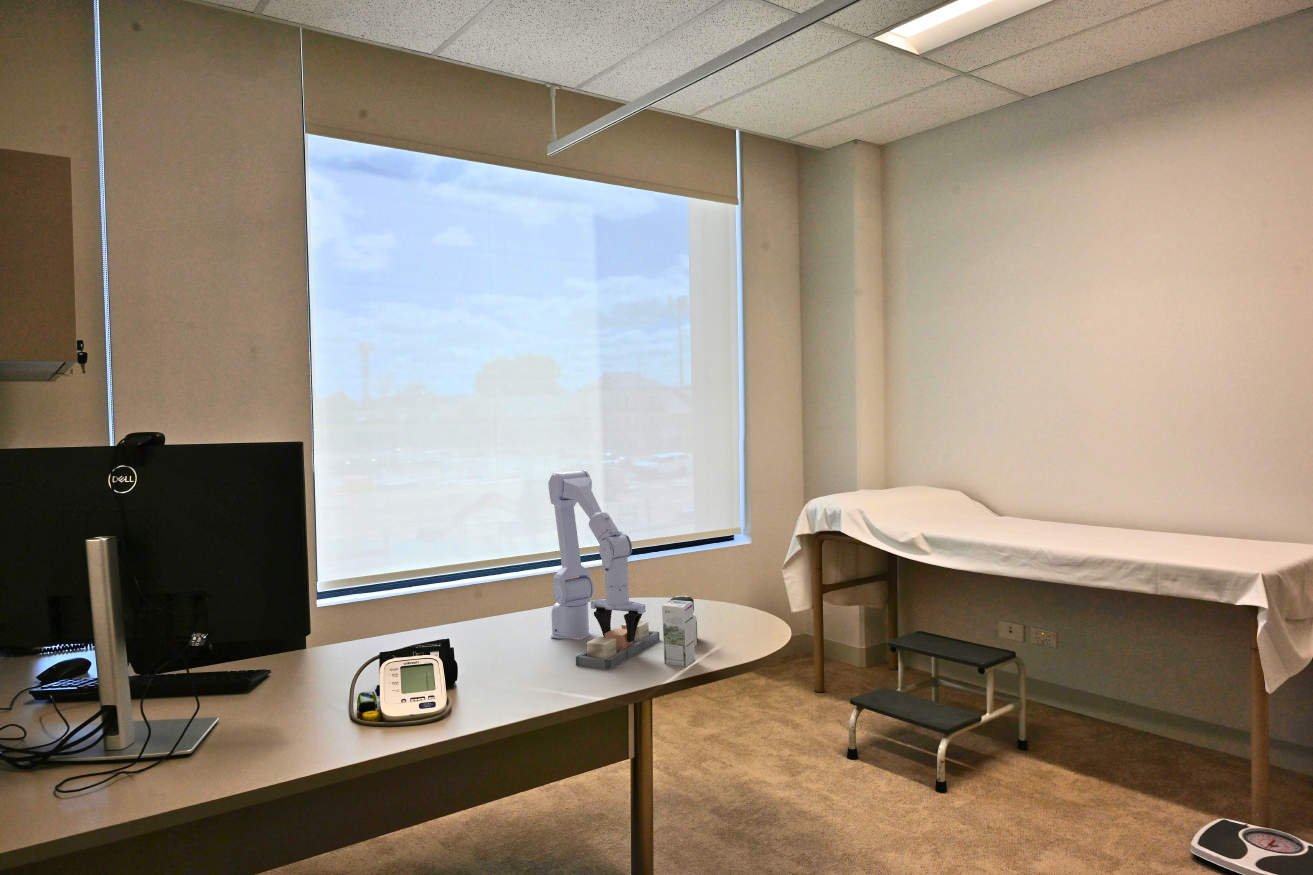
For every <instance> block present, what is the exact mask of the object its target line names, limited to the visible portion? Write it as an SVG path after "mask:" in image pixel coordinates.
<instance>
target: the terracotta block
mask: <svg viewBox="0 0 1313 875" xmlns="http://www.w3.org/2000/svg"><path fill="white" fill-rule="evenodd" d="M605 638H613V639H616V648H618V649H626V648H628V647H629V646H631V645H633V641H632V642H628V640H627V629H622V628H617V627H614V628H612V629H611V631H609V632H607V633H605Z"/></svg>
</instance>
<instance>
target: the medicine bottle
mask: <svg viewBox="0 0 1313 875" xmlns="http://www.w3.org/2000/svg"><path fill="white" fill-rule="evenodd" d="M670 600H678V601H691V602H693V625H694V647H697V646H699V645H698V644H699V642H698V620H697V612H695V605H694V604H695V603H694V601H695V600H694V598H693V597H691V596H689V595H688V596H687V595H678V596H674V597H671V598H670Z"/></svg>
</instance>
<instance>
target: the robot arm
mask: <svg viewBox="0 0 1313 875" xmlns="http://www.w3.org/2000/svg"><path fill="white" fill-rule="evenodd" d="M547 485H548V491H549V492H548V493H549V499H550V504H551V505H552V506H553V507H554V514H555V523H556V531H557V537H558V538H557V539H558V545H559V553H560V554H559V555H560V562H561V568H560V569H559V570H558V571H557V572H556V573H555V574H554V576H553V587H552V594H553V595H552V596H553V599H554V600H555V601H556V602H555V603H554V604H553V606H552V608H551V634H552V635H550V638H552V639H559V640H560V639H561V640H563V639H569V640H578V641H580V640H582V639H584V638H587V637H589V636H591V635H593V634H594V633H596V631H595V630H590V625H589V624H590V622H589V621H590V620H589V603H590V609H591V610H592V609H593V610H595V611H593V616H594V617H595V619H596V620H597V622H598V625H599V628H600V630H601V633H602V637H605V633H607V632H609V631H611V630H612V629H611V628H612V627H611V620H612V613H613V611H619V612H626V613H625V614H623V618H624V621H625V623H626V627H627V640H628V642H632V641H634V639H635V633H636V629H637V626H638V623H639V621H641V618H642V616H643V614H644V613H646V612H647V611H646V604H645V603H640V602H636V601H632V600H630V590H629V588H630V586H629V582H630V581H629V565H628V564H629V563H628V559H629V558H630V557H631V555H632V552H633V545H632V541H631V539H630V537H629V535H628V534H627V533H626V534H625V533H623V531H619V529H618V527H617V526H616V524H615V522H614V521H613V519H612V517H611V516H610V514H609V513H607V512H605V511H602V509H601V507H600V505H599V502H598V501H597V499H596V496H595V495H594V492H593V491H592V488H593V481H592V478H591V476H590V474H589V472H588V471H587V470H585V469H581V470H576V471H575V470H574V471H566V472H565V471H563V472H553V473H552V474H551V475H550V478H549V480H548V484H547ZM577 503H578V505H579V506H580V507H581V509H582V510H583V511H584V513H585V514H586V516H587V517H588V518H589V521H588V527H589V529H590V531H591V532H592V534H593V536H594V537H595V540H596V541H597V542H598V544H599V547H598V551H599V552H598V553H599V556H600V558H601V565H602V567H603V568H604V586H605V589H604V590H605V599H592V598H593V596H594V594H595V584H594V581H593V579H592V576H591V571H590V570H589V569H588V568H586V567H585V566H583V565H582V561H581V553H580V546H579V539H578V538H579V537H578V530H577V528H578V527H577V522H576V513H575V506H576V504H577ZM591 599H592V600H591Z"/></svg>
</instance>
